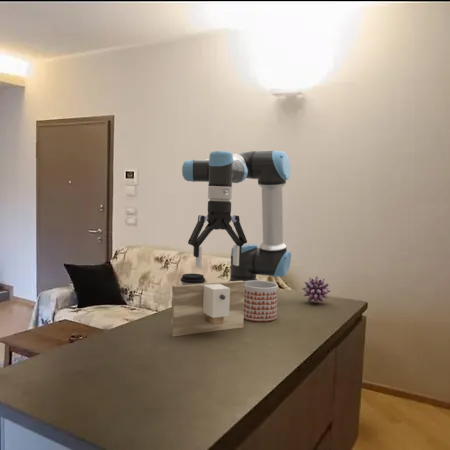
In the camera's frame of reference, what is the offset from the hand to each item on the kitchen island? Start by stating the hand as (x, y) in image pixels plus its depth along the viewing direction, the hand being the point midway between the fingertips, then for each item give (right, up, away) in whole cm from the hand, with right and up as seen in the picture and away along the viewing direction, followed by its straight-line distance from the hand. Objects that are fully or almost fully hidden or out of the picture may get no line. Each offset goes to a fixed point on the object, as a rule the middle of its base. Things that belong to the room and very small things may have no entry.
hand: (217, 266), depth 147 cm
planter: (+15, -22, +25) cm, 36 cm away
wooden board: (-2, -22, +3) cm, 23 cm away
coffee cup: (-10, -21, +25) cm, 34 cm away
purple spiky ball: (+41, -21, +50) cm, 68 cm away
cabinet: (-1, -16, +1) cm, 16 cm away
